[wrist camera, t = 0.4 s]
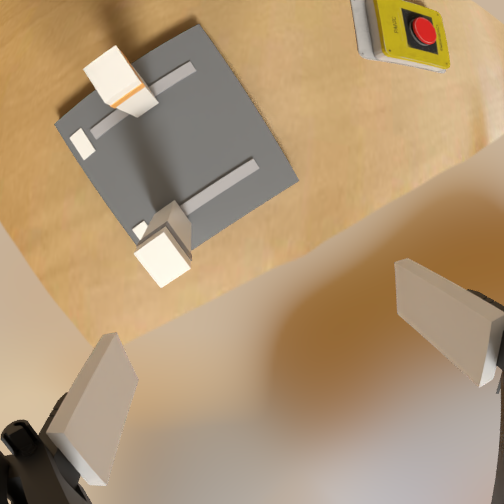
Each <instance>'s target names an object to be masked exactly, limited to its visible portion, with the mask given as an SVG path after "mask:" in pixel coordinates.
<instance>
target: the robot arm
mask: <svg viewBox="0 0 504 504" xmlns="http://www.w3.org/2000/svg"><path fill="white" fill-rule="evenodd" d="M394 264H395V277H396V293H397V314H398V315H399V316H400V317H402V318H403V319H404V320H405V321H406V322H407V323H408V324H410V325H411V326H412V327H413V328H414V329H415V330H416V331H417V332H419V333H420V334H421V335H422V336H423V337H424V338H425V339H426V340H428V341H429V342H430V343H431V344H432V345H433V346H434V347H435V348H437V349H438V350H439V351H440V352H441V353H442V354H443V355H444V356H445V357H446V358H447V359H449V360H450V361H451V362H452V363H453V364H454V365H455V366H456V367H457V368H458V369H460V371H462V372H463V373H464V374H465V375H466V376H467V377H468V378H469V379H470V380H471V381H472V382H473V383H474V384H475V385H476V386H478V387H481V386H483V385H484V384H486V383H488V382H489V381H491V380H492V379H493V378H494V374H495V370H496V366H498V367H499V368H501V369H502V374H501V378H500V382H499V385H498V388H497V392H496V393H497V394H498V393H499V391H500V389H501V424H500V425H501V426H500V442H499V454H498V463H497V471H496V479H495V485H494V491H493V496H492V502H491V504H504V306H502V305H501V304H499V303H497V302H496V301H495V302H494V300H492V299H490V298H487V296H485V295H483V294H482V293H480V292H477V291H473V290H469V289H468V290H465V289H464V288H462V287H460V286H458V285H456V284H455V283H453V282H451V281H449V280H447V279H446V278H444V277H442V276H440V275H438V274H437V273H435V272H433V271H431V270H429V269H427V268H425V267H423V266H421V265H420V264H418V263H416V262H414V261H412V260H410V259H408V258H407V259H404V260H400V261H397V262H395V263H394ZM137 383H138V377H137V375H136V373H135V371H134V369H133V367H132V365H131V363H130V361H129V359H128V356H127V355H126V352H125V350H124V348H123V345H122V343H121V341H120V339H119V336H118V334H117V332H115V333H110V334H105V335H102V337H101V339H100V340H99V342H98V343H97V345H96V346H95V348H94V350H93V351H92V353H91V355H90V356H89V358H88V359H87V361H86V363H85V364H84V366H83V368H82V369H81V371H80V373H79V374H78V376H77V378H76V379H75V381H74V383H73V385H72V387H71V388H70V390H69V392H67V393H65V394H64V395H63V396H62V397H61V398H60V399H59V400H58V401H57V403H56V405H55V406H54V408H53V411H52V412H51V413H50V415H49V416H50V417H48V419H47V421H46V422H45V424H44V426H43V428H42V429H41V431H40V433H39V435H37V433H36V432H35V431H34V429H33V428H32V427H31V425H30V424H29V423H28V421H26V420H17V421H14V422H12V423H11V424H9V425H8V426H7V427H6V428H5V429H4V430H3V432H2V434H1V440H2V441H3V443H4V444H5V445H6V446H7V448H8V449H9V450H10V451H11V453H12V455H7V456H4V455H3V453H2V452H1V451H0V504H9V503H8V501H7V498H8V499H9V500H10V501H11V504H92V503H91V501H90V499H89V498H88V496H87V494H86V492H85V491H84V489H83V488H82V487H81V485H80V484H79V483H78V481H79V478H80V475H81V476H82V477H83V478H84V480H85V481H87V483H88V484H89V485H100V486H107V484H108V480H109V476H110V473H111V469H112V465H113V462H114V458H115V455H116V451H117V448H118V444H119V441H120V437H121V434H122V430H123V427H124V424H125V421H126V418H127V414H128V411H129V408H130V405H131V402H132V399H133V395H134V392H135V389H136V386H137Z"/></svg>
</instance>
